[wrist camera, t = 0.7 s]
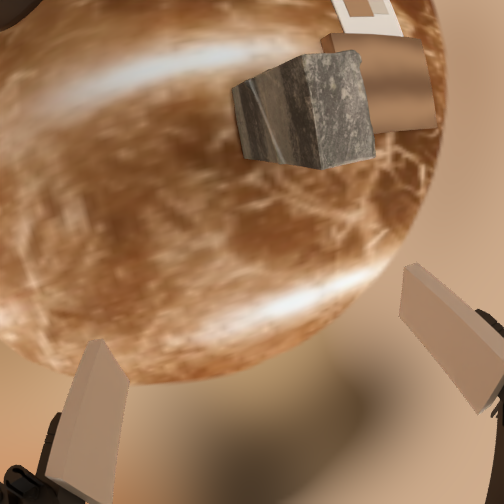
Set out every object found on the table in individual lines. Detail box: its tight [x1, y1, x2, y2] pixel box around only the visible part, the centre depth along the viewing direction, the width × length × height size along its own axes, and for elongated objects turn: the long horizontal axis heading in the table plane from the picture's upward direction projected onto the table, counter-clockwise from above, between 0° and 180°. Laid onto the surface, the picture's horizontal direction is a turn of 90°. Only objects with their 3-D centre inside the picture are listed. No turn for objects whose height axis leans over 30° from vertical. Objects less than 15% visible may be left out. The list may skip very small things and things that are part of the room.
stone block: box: [232, 50, 376, 170], centre depth 22 cm, size 9×14×5 cm
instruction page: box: [331, 0, 404, 37], centre depth 24 cm, size 12×9×1 cm
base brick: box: [321, 33, 437, 134], centre depth 28 cm, size 12×13×3 cm
